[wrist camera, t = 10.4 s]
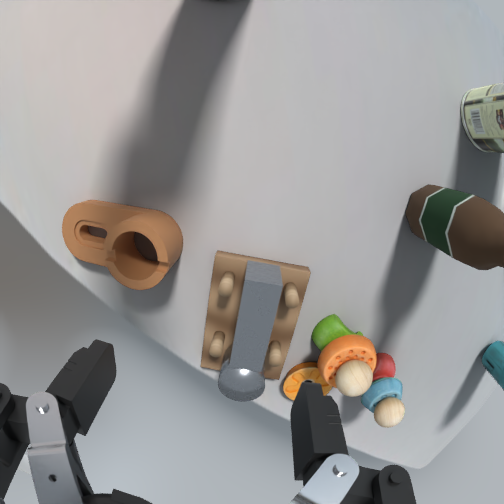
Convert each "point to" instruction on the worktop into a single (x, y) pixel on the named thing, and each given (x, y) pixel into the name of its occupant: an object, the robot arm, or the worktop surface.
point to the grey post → (251, 333)
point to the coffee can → (485, 117)
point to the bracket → (123, 240)
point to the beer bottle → (458, 225)
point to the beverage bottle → (495, 361)
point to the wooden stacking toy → (351, 371)
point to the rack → (227, 307)
